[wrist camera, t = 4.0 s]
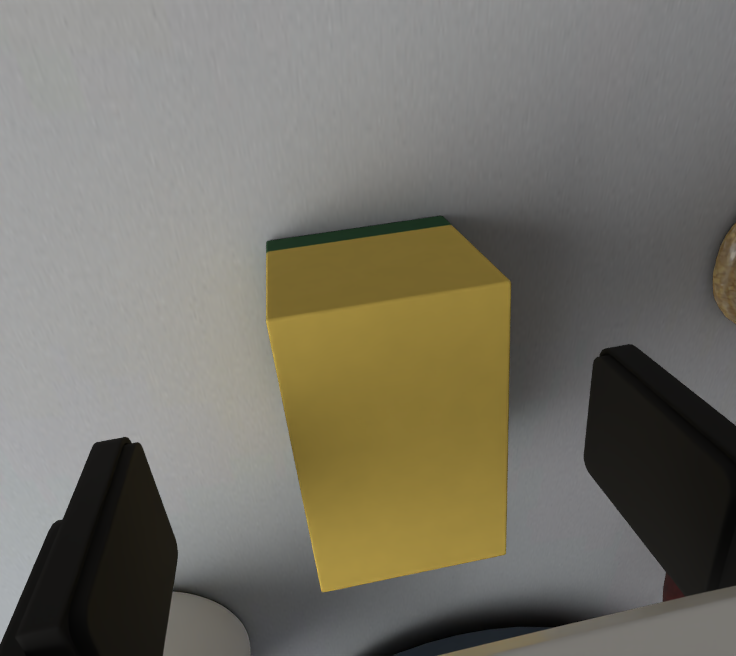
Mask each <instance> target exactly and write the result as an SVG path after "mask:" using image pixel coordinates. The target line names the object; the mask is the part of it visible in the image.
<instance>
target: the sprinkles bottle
mask: <svg viewBox="0 0 736 656" xmlns="http://www.w3.org/2000/svg"><path fill="white" fill-rule="evenodd" d="M713 294H714V298H715V300H716V302H717V305H718V307H719V308H720V310H721V311H722V312H723V314H724V315H725V317H727V318H728V319H729V320H731V321H732V322H734V323H735V324H736V223H735V224H734V225H733V226H732V227H731V229H730V230H729V232H728V233H727V234H726V236H725V238H724V240H723V242H722V244H721V246H720V249H719V252H718V256H717V258H716V264H715V267H714V271H713Z"/></svg>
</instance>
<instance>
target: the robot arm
mask: <svg viewBox="0 0 736 656" xmlns="http://www.w3.org/2000/svg"><path fill="white" fill-rule="evenodd" d="M584 462H585V466H586V468H587V470H588V472H589V474H590V475H591V476H592V478H593V479H594V480H595V481H596V483H597V484H598V485H599V487H600V488H601V489H602V490H603V492H604V493H605V494H606V495H607V497H608V498H609V499H610V501H611V502H612V503H613V504H614V506H615V507H616V508H617V510H618V511H619V512H620V513H621V515H622V516H623V517H624V519H625V520H626V521H627V522H628V524H629V525H630V526H631V528H632V529H633V530H634V531H635V533H636V534H637V535H638V536H639V538H640V539H641V540H642V542H643V543H644V544H645V545H646V547H647V548H648V549H649V551H650V552H651V553H652V554H653V556H654V557H655V558H656V560H657V561H658V562H659V563H660V565H661V566H662V567H663V569H664V570H665V571H666V572H667V574H668V575H669V576H670V577H671V579H672V580H673V581H674V583H675V584H676V585H677V586H678V588H679V589H680V590H681V592H682V593H683V594H684V595H685V597H682V598H678V599H674V600H669V601H665V602H661V603H657V604H652V605H648V606H644V607H640V608H635V609H631V610H627V611H623V612H618V613H614V614H610V615H605V616H601V617H597V618H593V619H588V620H584V621H580V622H576V623H571V624H567V625H563V626H559V627H555V628H550V629H546V630H542V631H538V632H534V633H530V634H525V635H521V636H517V637H513V638H509V639H505V640H500V641H496V642H492V643H488V644H484V645H480V646H476V647H471V648H467V649H463V650H459V651H455V652H451V653H447V654H442V655H438V656H736V426H735V425H734V424H733V423H732V422H730V421H729V420H728V419H727V418H725V417H724V416H723V415H722V414H720V413H719V412H718V411H717V410H715V409H714V408H713V407H711V406H710V405H709V404H708V403H706V402H705V401H704V400H703V399H701V398H700V397H699V396H698V395H696V394H695V393H694V392H692V391H691V390H690V389H689V388H687V387H686V386H685V385H684V384H682V383H681V382H680V381H679V380H677V379H676V378H675V377H674V376H672V375H671V374H670V373H668V372H667V371H666V370H665V369H663V368H662V367H661V366H660V365H658V364H657V363H656V362H655V361H653V360H652V359H651V358H649V357H648V356H647V355H646V354H644V353H643V352H642V351H641V350H639V349H638V348H637V347H635V346H634V345H631V344H628V345H622V346H617V347H612V348H606V349H604V350H602V352H601V353H600V357H597V358H595V360H594V362H593V370H592V379H591V389H590V399H589V409H588V419H587V428H586V438H585V448H584ZM177 559H178V550H177V543H176V539H175V536H174V534H173V531H172V528H171V525H170V522H169V520H168V517H167V514H166V511H165V509H164V506H163V503H162V500H161V498H160V495H159V492H158V489H157V487H156V484H155V481H154V478H153V475H152V473H151V470H150V467H149V464H148V462H147V459H146V456H145V453H144V451H143V448H142V446H141V444H140V443H138V442H137V443H131V441H130V440H129V438H127V437H123V438H117V439H112V440H106V441H101V442H96V443H95V444H94V445H93V447H92V449H91V451H90V454H89V456H88V459H87V461H86V464H85V466H84V469H83V471H82V473H81V476H80V478H79V481H78V483H77V486H76V488H75V491H74V493H73V496H72V498H71V500H70V503H69V505H68V508H67V510H66V513H65V515H64V518H63V519H62V520H58V521H56V522H55V523H54V524H53V525H52V526H51V528H50V530H49V532H48V534H47V536H46V539H45V541H44V543H43V546H42V548H41V550H40V553H39V555H38V557H37V560H36V562H35V564H34V567H33V569H32V571H31V574H30V576H29V578H28V581H27V583H26V585H25V588H24V590H23V592H22V595H21V597H20V599H19V602H18V604H17V607H16V609H15V611H14V614H13V616H12V618H11V621H10V623H9V625H8V628H7V630H6V632H5V635H4V637H3V639H2V642H1V644H0V656H163V652H164V645H165V639H166V632H167V625H168V619H169V612H170V606H171V599H172V593H173V586H174V579H175V573H176V566H177Z"/></svg>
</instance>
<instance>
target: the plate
mask: <svg viewBox="0 0 736 656" xmlns="http://www.w3.org/2000/svg"><path fill="white" fill-rule="evenodd" d="M550 628H553V627H510V628H498V629H488V630H482V631H477V632H471V633H465V634H460V635H456V636H452V637H448V638H444V639H440V640H437V641H433V642H429V643H426V644H423V645H420V646H417V647H414V648H412V649H409V650H406V651H403V652H400V653H397V654H395V655H393V656H438V655H442V654H447V653H451V652H455V651H459V650H463V649H467V648H471V647H476V646H480V645H484V644H488V643H492V642H496V641H500V640H505V639H509V638H513V637H517V636H521V635H525V634H530V633H534V632H538V631H542V630H546V629H550Z"/></svg>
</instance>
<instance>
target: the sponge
mask: <svg viewBox="0 0 736 656" xmlns="http://www.w3.org/2000/svg"><path fill="white" fill-rule="evenodd" d="M266 253H267V254H266V323H267V328H268V333H269V338H270V343H271V348H272V353H273V358H274V362H275V367H276V372H277V377H278V382H279V387H280V392H281V397H282V402H283V406H284V411H285V416H286V421H287V426H288V431H289V436H290V441H291V446H292V450H293V455H294V460H295V465H296V470H297V475H298V480H299V485H300V490H301V494H302V499H303V504H304V509H305V514H306V519H307V524H308V529H309V534H310V538H311V543H312V548H313V553H314V558H315V563H316V568H317V573H318V578H319V582H320V587H321V591H322V592H328V591H333V590H338V589H343V588H347V587H352V586H357V585H362V584H367V583H371V582H376V581H381V580H386V579H391V578H395V577H400V576H405V575H410V574H415V573H420V572H424V571H429V570H434V569H439V568H444V567H448V566H453V565H458V564H463V563H468V562H472V561H477V560H482V559H487V558H492V557H497V556H501V555H505V554H506V526H507V473H508V421H509V369H510V317H511V282H510V280H509V279H508V278H507V277H506V276H505V275H503V274H502V273H501V272H500V271H499V270H498V269H497V268H496V267H495V266H494V265H493V264H492V263H491V262H490V261H489V260H488V259H487V258H486V257H485V256H484V255H483V254H482V253H480V252H479V251H478V250H477V249H476V248H475V247H474V246H473V245H472V244H471V243H470V242H469V241H468V240H467V239H466V238H465V237H464V236H463V235H462V234H461V233H460V232H459V231H457V230H456V229H455V228H454V227H453V226H452V225H451V224H450V223H449V222H448V221H447V220H446V219H445V218H444V217H443V216H436V217H429V218H422V219H416V220H409V221H402V222H395V223H388V224H381V225H374V226H367V227H360V228H354V229H347V230H340V231H333V232H326V233H319V234H312V235H305V236H299V237H292V238H285V239H278V240H271V241H267V243H266Z"/></svg>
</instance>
